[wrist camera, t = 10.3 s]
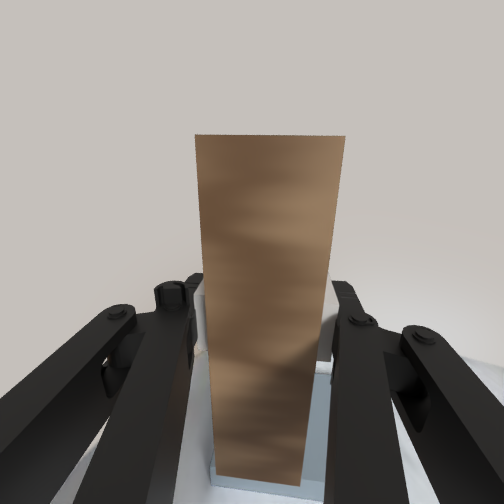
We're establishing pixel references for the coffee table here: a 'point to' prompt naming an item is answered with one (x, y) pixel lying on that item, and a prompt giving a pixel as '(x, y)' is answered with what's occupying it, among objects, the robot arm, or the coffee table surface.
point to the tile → (313, 454)
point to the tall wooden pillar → (265, 291)
